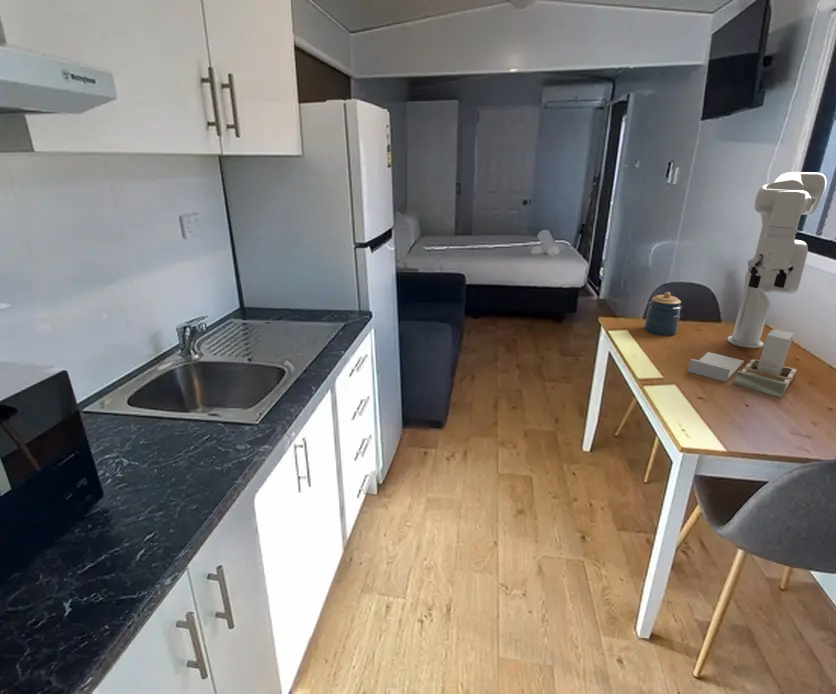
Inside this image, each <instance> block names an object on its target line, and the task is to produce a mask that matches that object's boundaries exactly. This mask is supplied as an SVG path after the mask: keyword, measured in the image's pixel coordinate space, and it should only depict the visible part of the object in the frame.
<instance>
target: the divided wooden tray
mask: <svg viewBox="0 0 836 694" xmlns="http://www.w3.org/2000/svg"><path fill="white" fill-rule="evenodd" d="M759 361H760V359H757V358H751V360H750V361H749V362H747V364H746V365H745V366H744V367H743V369H742V370H739V369H737V370H736V374H735V377H734V382H733V384H734V385H736V386H739V387H743V388H747V389H751V390H755V391H757V392H760V393H766V394H768V395H772V396H776V397H779V398H782V397H783V396H784V394H785V392H786V391H787V390H788V387H789V386H790V384H791V383H792V381H793V379H794V378H795V377H796V374H797V372H798V371H797V370H798V368H794V367H790V366H785V365H783V368H782V371H781V374H783V375H787V376H782V375H780V376H778V375H774V374H770V373H766V372H762V371H758V370H757V369H754V367H755V368H757V367H758V364H759Z"/></svg>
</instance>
